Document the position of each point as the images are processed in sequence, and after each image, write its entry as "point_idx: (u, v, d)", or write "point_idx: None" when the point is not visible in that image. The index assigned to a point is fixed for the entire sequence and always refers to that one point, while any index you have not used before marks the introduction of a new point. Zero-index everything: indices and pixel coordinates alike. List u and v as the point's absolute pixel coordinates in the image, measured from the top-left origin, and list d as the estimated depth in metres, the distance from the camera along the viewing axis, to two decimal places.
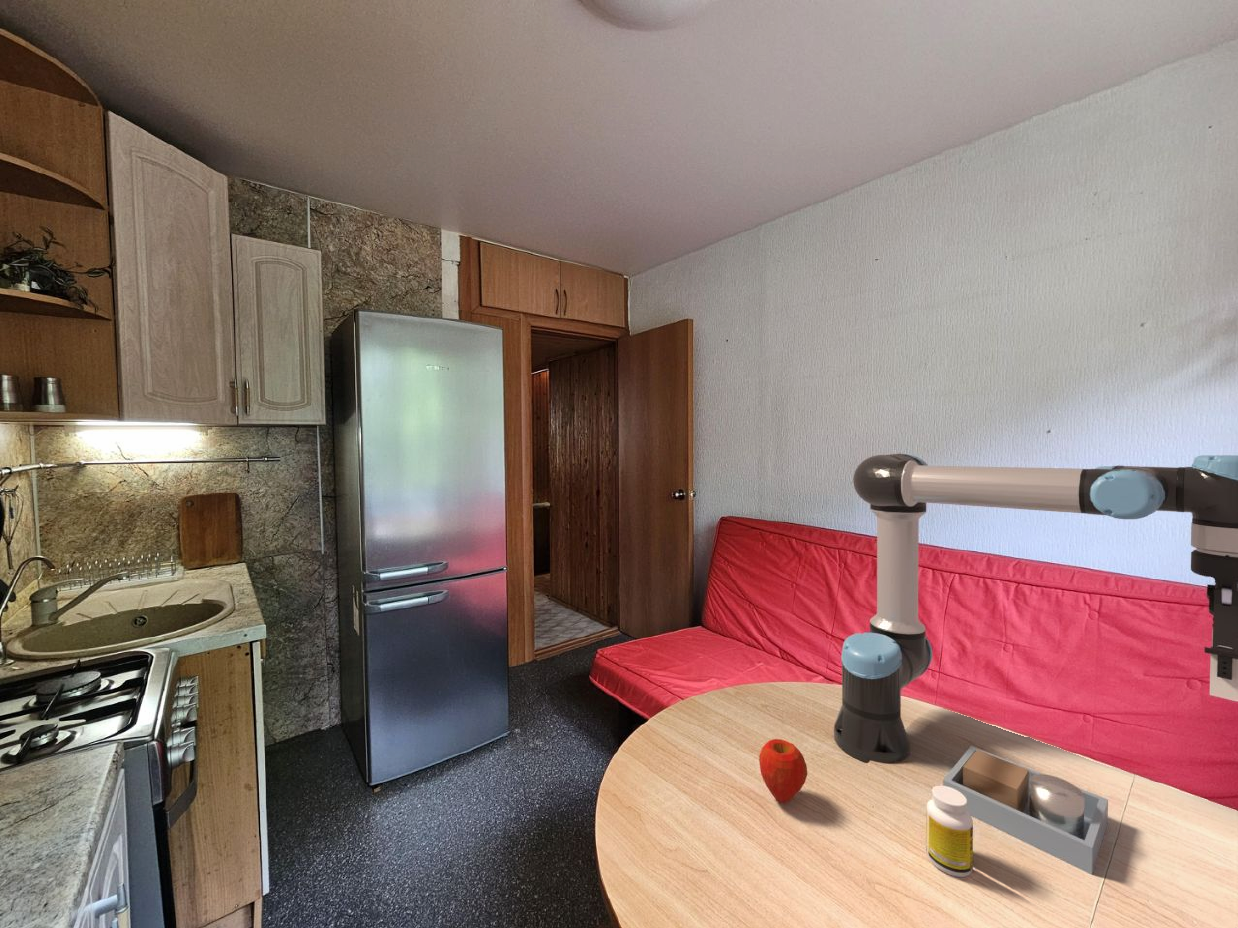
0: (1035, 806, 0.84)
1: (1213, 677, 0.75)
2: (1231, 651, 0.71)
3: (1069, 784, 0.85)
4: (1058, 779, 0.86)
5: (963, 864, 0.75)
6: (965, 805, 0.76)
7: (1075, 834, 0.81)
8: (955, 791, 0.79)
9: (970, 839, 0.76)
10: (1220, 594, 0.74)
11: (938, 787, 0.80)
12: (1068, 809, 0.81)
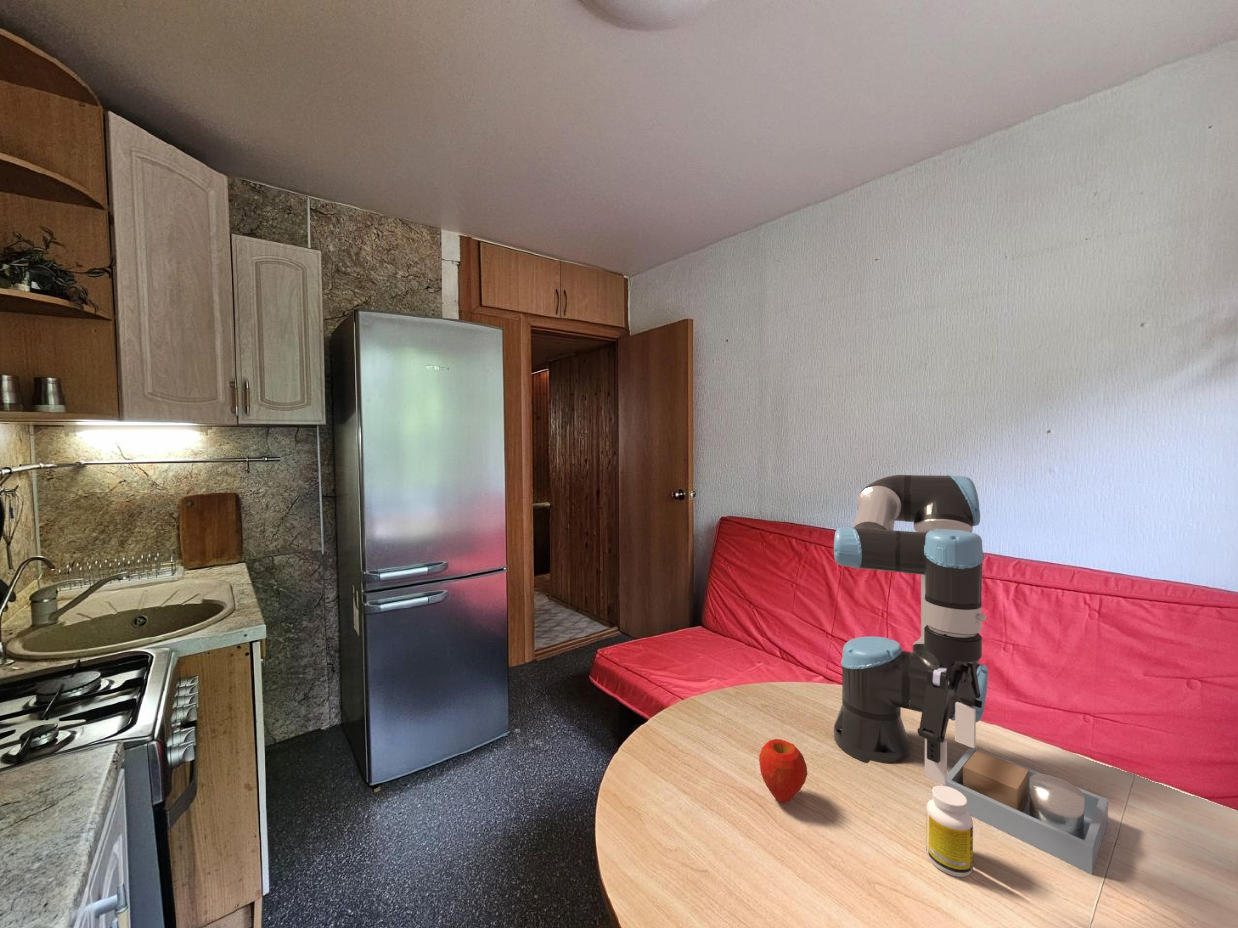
0: (1035, 806, 0.84)
1: (926, 758, 0.74)
2: (932, 736, 0.71)
3: (1069, 784, 0.85)
4: (1058, 779, 0.86)
5: (963, 864, 0.75)
6: (965, 805, 0.76)
7: (1075, 834, 0.81)
8: (955, 791, 0.79)
9: (970, 839, 0.76)
10: (932, 675, 0.74)
11: (938, 787, 0.80)
12: (1068, 809, 0.81)
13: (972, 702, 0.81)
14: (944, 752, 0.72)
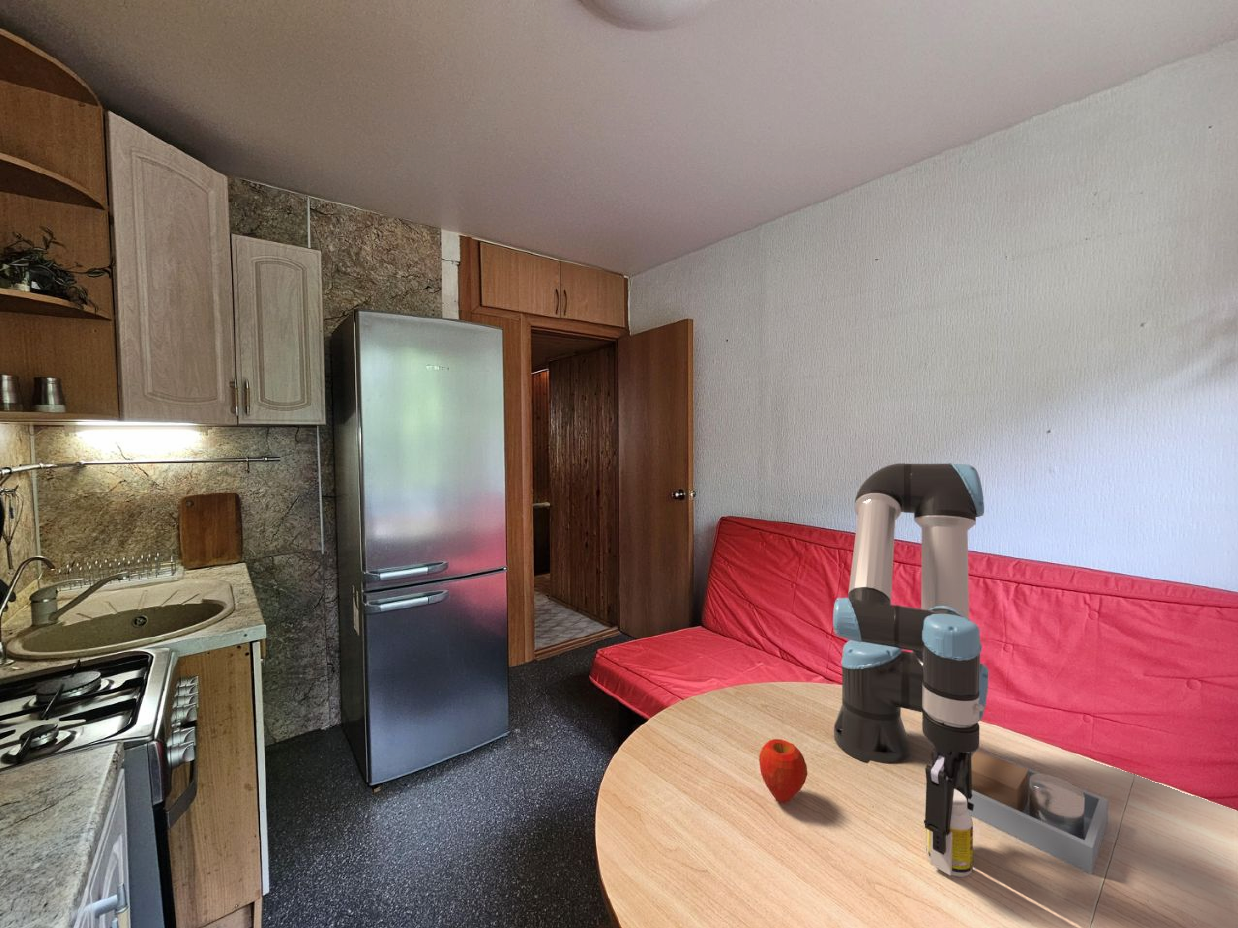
0: (1035, 806, 0.84)
1: (932, 848, 0.77)
2: (938, 831, 0.74)
3: (1069, 784, 0.85)
4: (1058, 779, 0.86)
5: (963, 864, 0.75)
6: (965, 805, 0.76)
7: (1075, 834, 0.81)
8: (955, 791, 0.79)
9: (970, 839, 0.76)
10: (930, 774, 0.74)
11: None
12: (1068, 809, 0.81)
13: None
14: (949, 844, 0.75)
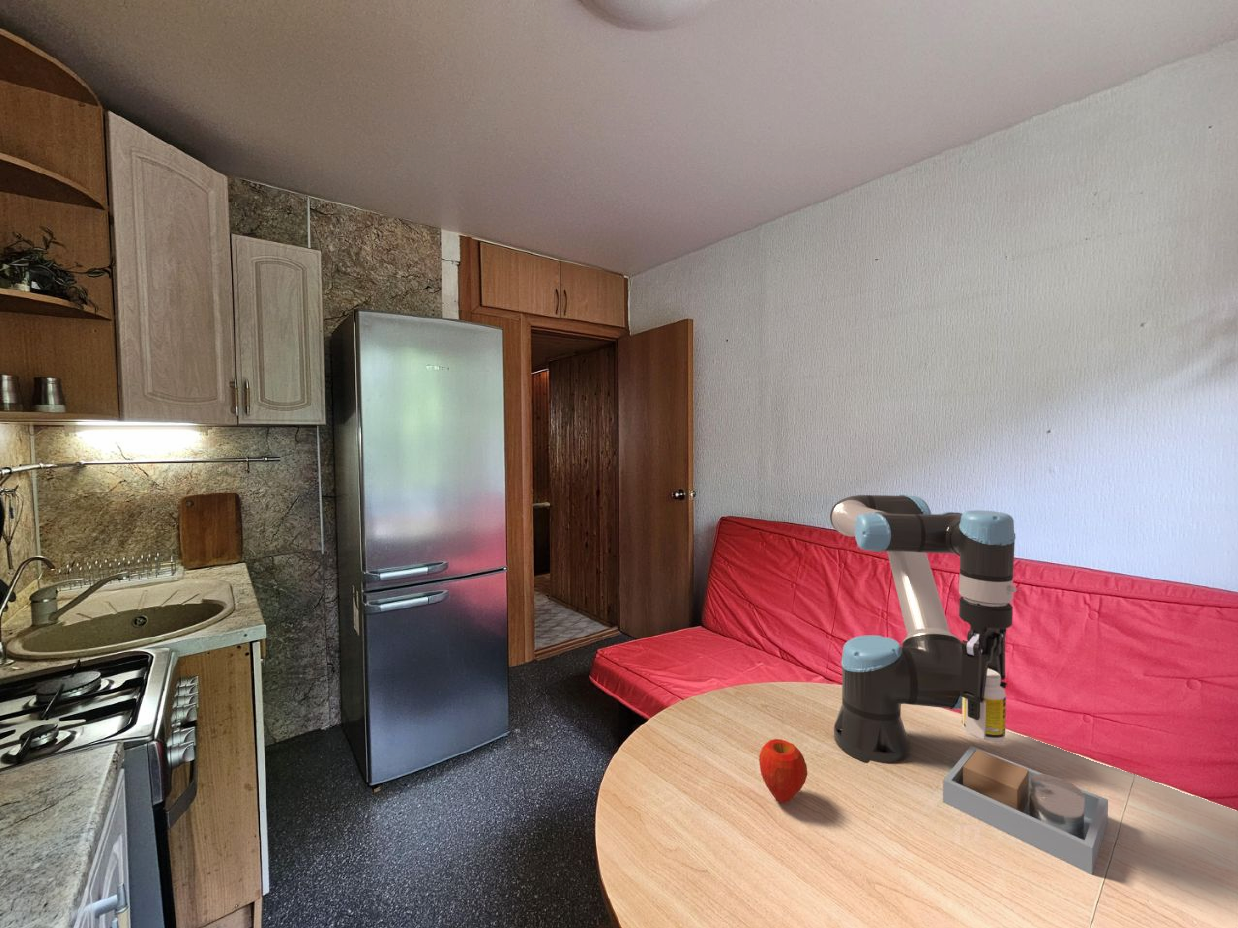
0: (1035, 806, 0.84)
1: (967, 717, 0.85)
2: (972, 697, 0.82)
3: (1069, 784, 0.85)
4: (1058, 779, 0.86)
5: (996, 730, 0.84)
6: (999, 678, 0.84)
7: (1075, 834, 0.81)
8: (989, 669, 0.87)
9: (1003, 708, 0.84)
10: (965, 647, 0.83)
11: None
12: (1068, 809, 0.81)
13: None
14: (983, 711, 0.84)
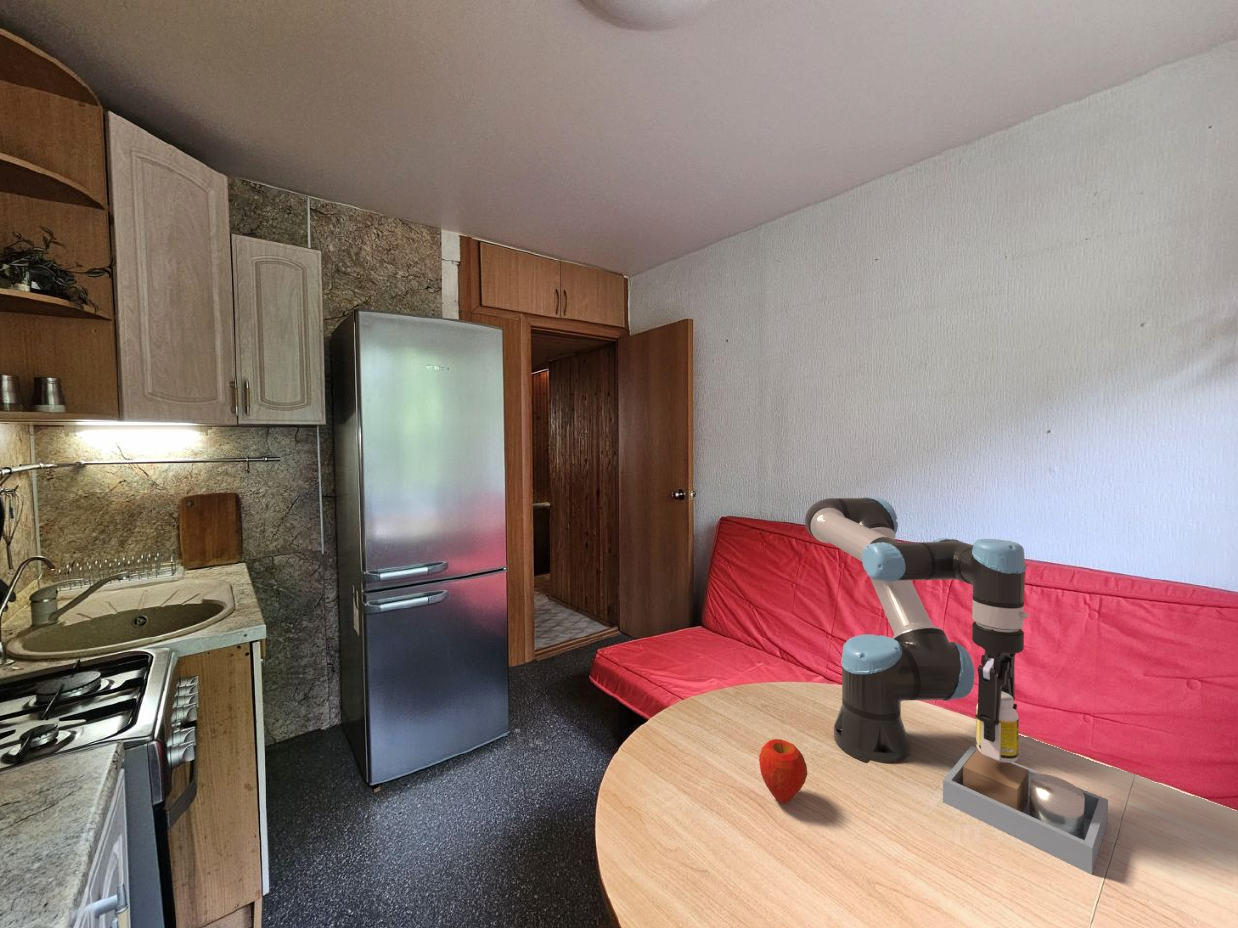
0: (1035, 806, 0.84)
1: (983, 738, 0.89)
2: (989, 720, 0.86)
3: (1069, 784, 0.85)
4: (1058, 779, 0.86)
5: (1011, 751, 0.87)
6: (1012, 701, 0.88)
7: (1075, 834, 0.81)
8: (1001, 692, 0.91)
9: (1016, 730, 0.88)
10: (982, 672, 0.86)
11: None
12: (1068, 809, 0.81)
13: None
14: (998, 733, 0.87)
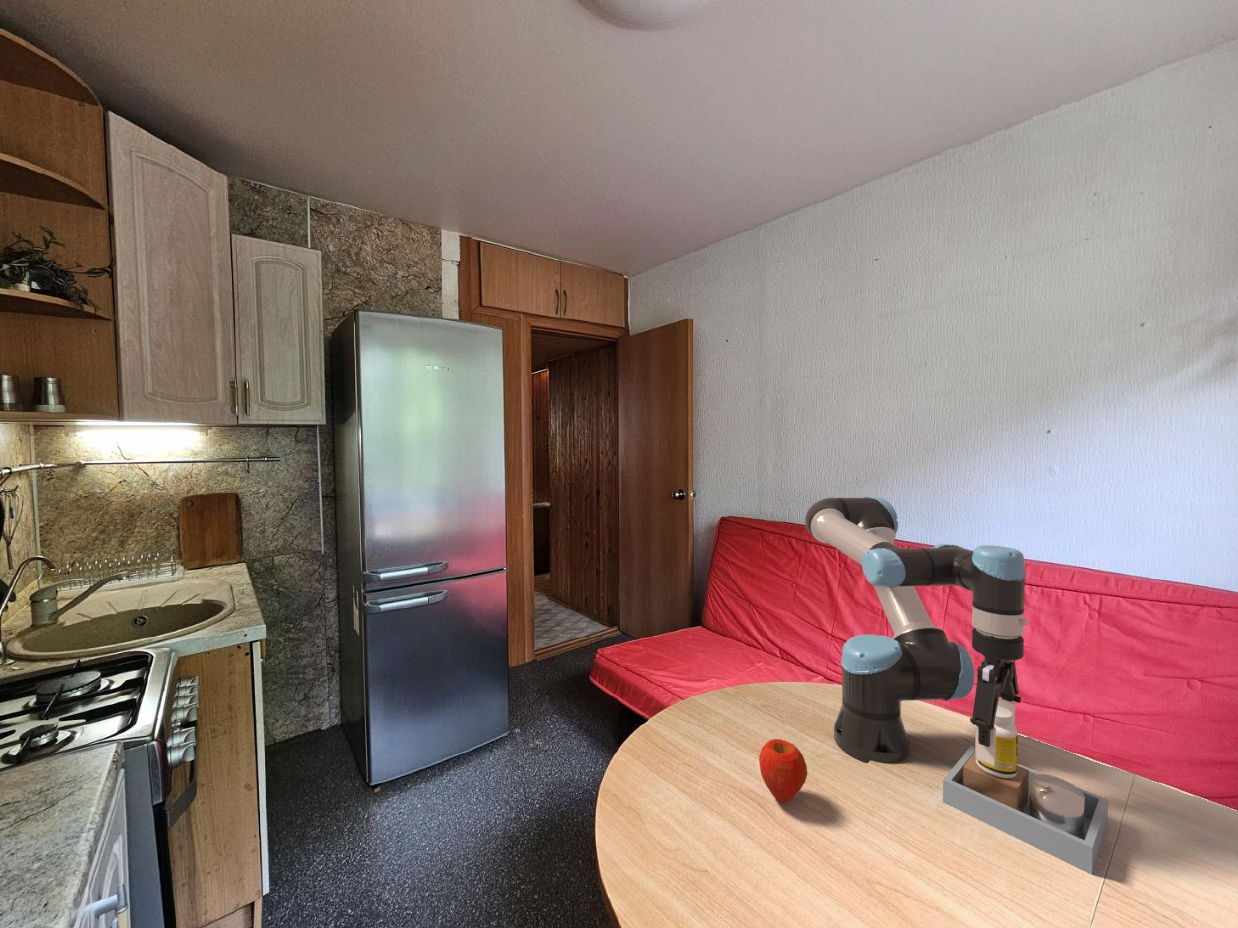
0: (1035, 806, 0.84)
1: (977, 743, 0.87)
2: (984, 724, 0.84)
3: (1069, 784, 0.85)
4: (1058, 779, 0.86)
5: (1010, 767, 0.87)
6: (1011, 717, 0.88)
7: (1075, 834, 0.81)
8: (1001, 707, 0.91)
9: (1016, 746, 0.88)
10: (981, 672, 0.86)
11: None
12: (1068, 809, 0.81)
13: (1012, 697, 0.93)
14: (993, 738, 0.85)
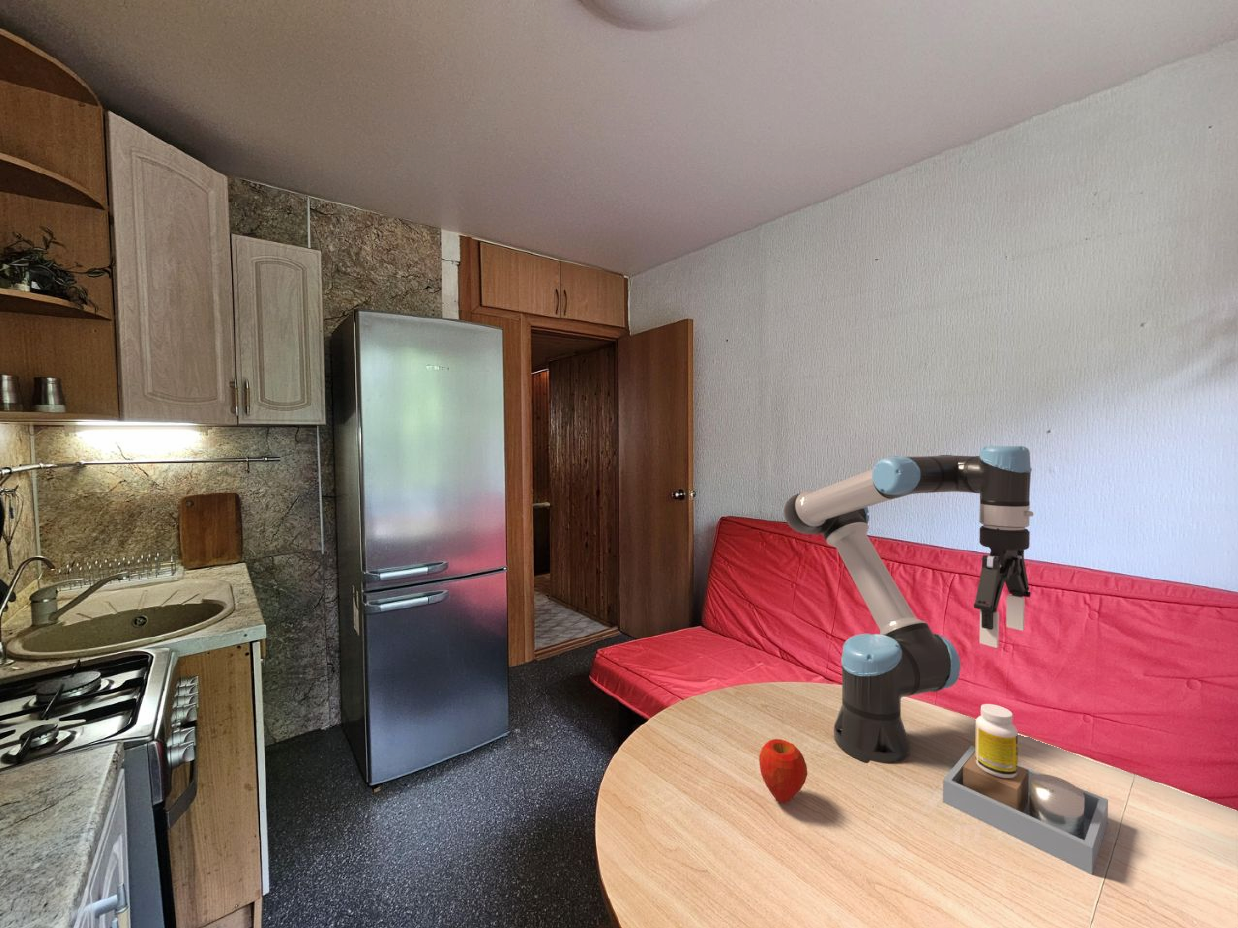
0: (1035, 806, 0.84)
1: (981, 628, 0.91)
2: (986, 605, 0.87)
3: (1069, 784, 0.85)
4: (1058, 779, 0.86)
5: (1010, 767, 0.87)
6: (1011, 717, 0.88)
7: (1075, 834, 0.81)
8: (1000, 707, 0.91)
9: (1016, 746, 0.88)
10: (986, 560, 0.90)
11: (986, 705, 0.92)
12: (1068, 809, 0.81)
13: (1021, 592, 0.97)
14: (996, 621, 0.89)
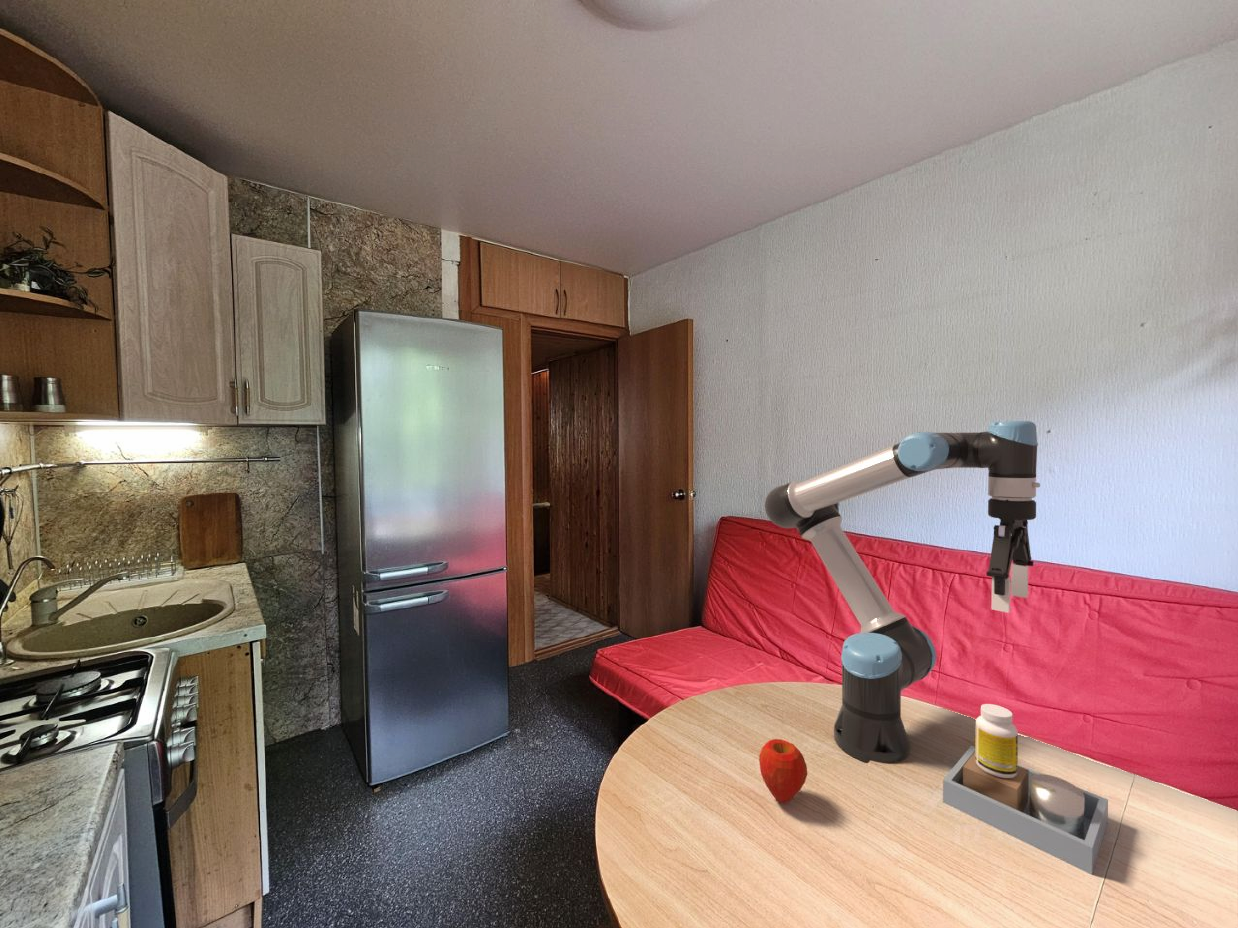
0: (1035, 806, 0.84)
1: (993, 595, 0.95)
2: (1000, 572, 0.92)
3: (1069, 784, 0.85)
4: (1058, 779, 0.86)
5: (1010, 767, 0.87)
6: (1011, 717, 0.88)
7: (1075, 834, 0.81)
8: (1000, 707, 0.91)
9: (1016, 745, 0.88)
10: (997, 529, 0.94)
11: (986, 705, 0.92)
12: (1068, 809, 0.81)
13: (1025, 561, 1.02)
14: (1008, 587, 0.93)
